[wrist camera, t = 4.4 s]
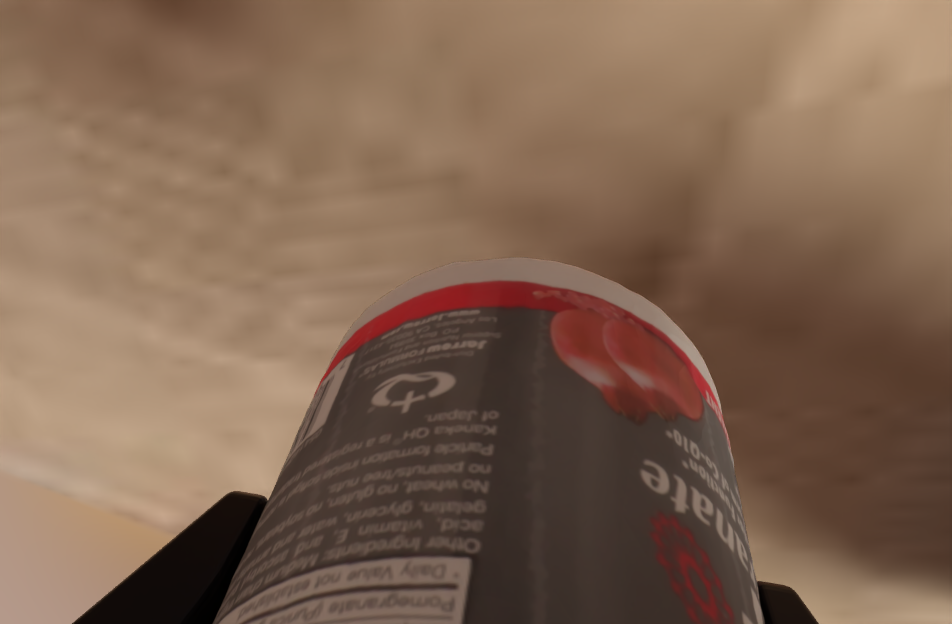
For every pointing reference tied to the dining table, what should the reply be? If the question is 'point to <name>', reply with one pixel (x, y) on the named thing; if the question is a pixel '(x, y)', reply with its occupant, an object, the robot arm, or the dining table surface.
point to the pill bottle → (505, 466)
